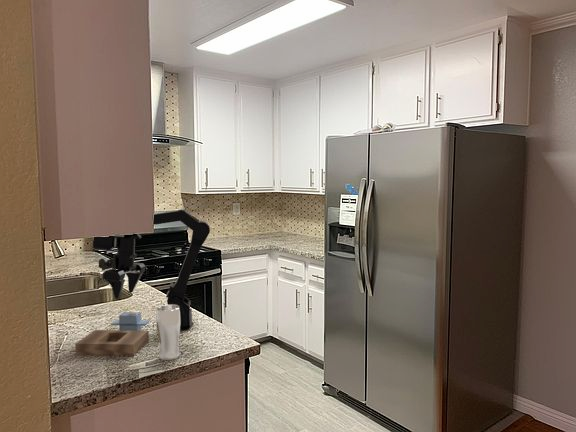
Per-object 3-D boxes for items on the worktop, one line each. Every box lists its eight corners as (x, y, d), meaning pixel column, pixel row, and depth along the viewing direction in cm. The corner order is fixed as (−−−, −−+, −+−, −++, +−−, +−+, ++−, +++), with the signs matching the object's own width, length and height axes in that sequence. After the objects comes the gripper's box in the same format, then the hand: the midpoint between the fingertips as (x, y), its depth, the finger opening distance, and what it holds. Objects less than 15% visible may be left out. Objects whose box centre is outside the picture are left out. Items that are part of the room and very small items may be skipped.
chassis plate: (148, 341, 143) (148, 330, 143) (133, 355, 131) (133, 344, 131) (95, 340, 144) (95, 330, 144) (75, 354, 132) (75, 343, 132)
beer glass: (157, 362, 126) (155, 311, 125) (157, 353, 133) (156, 305, 132) (181, 359, 128) (180, 309, 127) (181, 350, 135) (179, 303, 133)
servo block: (116, 331, 153) (115, 309, 152) (150, 331, 152) (149, 309, 151) (111, 335, 149) (110, 313, 148) (145, 335, 148) (144, 313, 147)
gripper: (118, 245, 161) (116, 287, 162) (88, 252, 142) (86, 299, 143) (146, 248, 159) (145, 290, 160) (119, 255, 141) (117, 303, 142)
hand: (123, 295), depth 151 cm, fingers open, 9 cm apart
